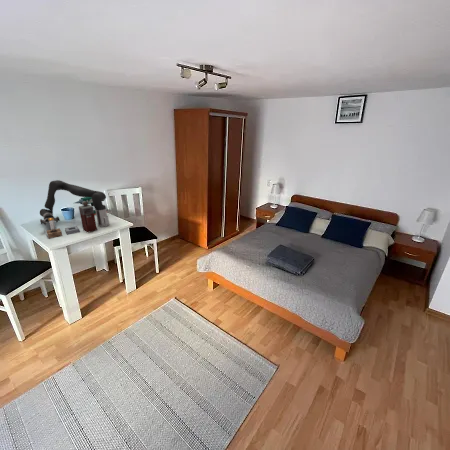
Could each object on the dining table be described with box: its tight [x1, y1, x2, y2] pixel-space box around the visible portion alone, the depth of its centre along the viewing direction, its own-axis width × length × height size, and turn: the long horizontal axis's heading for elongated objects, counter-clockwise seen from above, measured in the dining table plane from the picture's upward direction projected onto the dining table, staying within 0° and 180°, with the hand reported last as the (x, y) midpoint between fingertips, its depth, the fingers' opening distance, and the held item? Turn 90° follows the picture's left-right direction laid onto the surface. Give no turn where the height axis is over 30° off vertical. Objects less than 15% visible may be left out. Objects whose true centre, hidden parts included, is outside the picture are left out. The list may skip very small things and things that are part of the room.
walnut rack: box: [46, 227, 63, 239], centre depth 215 cm, size 10×10×4 cm
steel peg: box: [48, 218, 57, 232], centre depth 213 cm, size 3×3×16 cm
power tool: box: [74, 197, 108, 216], centre depth 264 cm, size 32×7×20 cm, turn 143°
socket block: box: [64, 225, 80, 235], centre depth 224 cm, size 10×10×3 cm
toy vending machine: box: [78, 201, 98, 233], centre depth 223 cm, size 9×11×28 cm
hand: (51, 222), depth 216 cm, fingers open, 8 cm apart
